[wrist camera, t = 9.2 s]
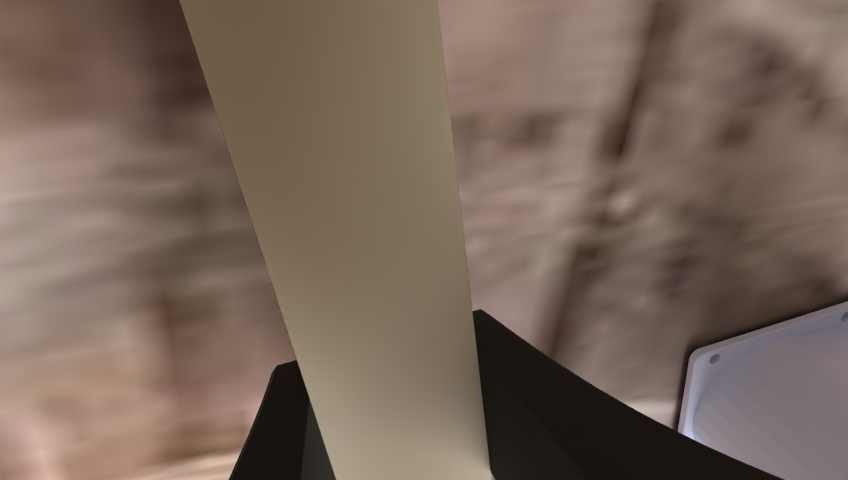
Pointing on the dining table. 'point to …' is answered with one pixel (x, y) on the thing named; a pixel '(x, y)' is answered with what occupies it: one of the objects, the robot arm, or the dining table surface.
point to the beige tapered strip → (356, 220)
